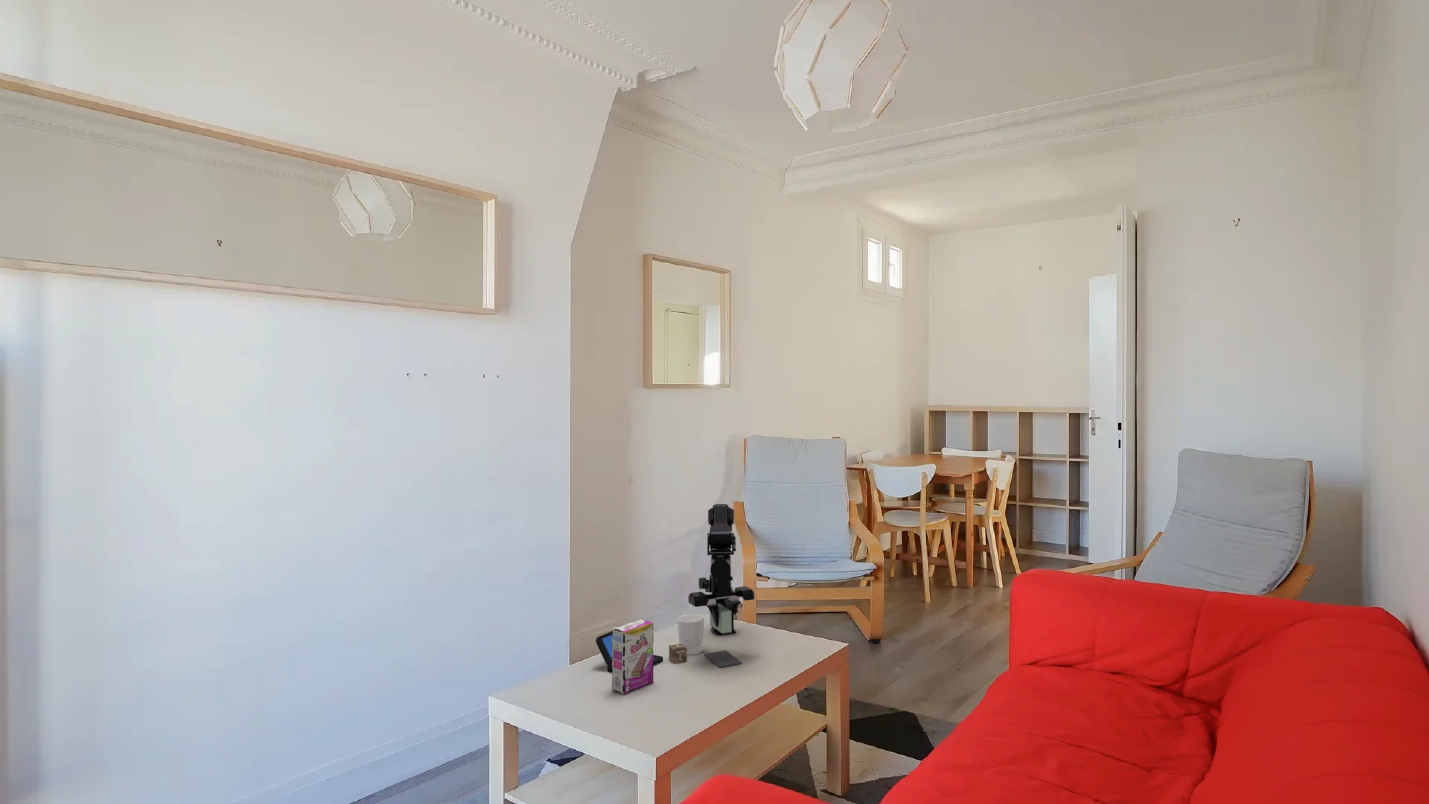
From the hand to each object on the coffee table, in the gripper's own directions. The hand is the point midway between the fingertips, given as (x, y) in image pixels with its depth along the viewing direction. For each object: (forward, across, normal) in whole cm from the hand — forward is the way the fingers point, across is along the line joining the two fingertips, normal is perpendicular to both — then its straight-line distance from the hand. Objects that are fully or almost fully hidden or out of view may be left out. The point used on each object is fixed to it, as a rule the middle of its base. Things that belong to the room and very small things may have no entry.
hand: (722, 625), depth 221 cm
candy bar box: (+10, +30, +10) cm, 33 cm away
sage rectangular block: (+1, 0, -1) cm, 1 cm away
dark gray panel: (+10, 0, 0) cm, 10 cm away
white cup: (+10, +6, -11) cm, 16 cm away
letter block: (+10, +12, -5) cm, 16 cm away
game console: (+10, +26, -7) cm, 29 cm away
